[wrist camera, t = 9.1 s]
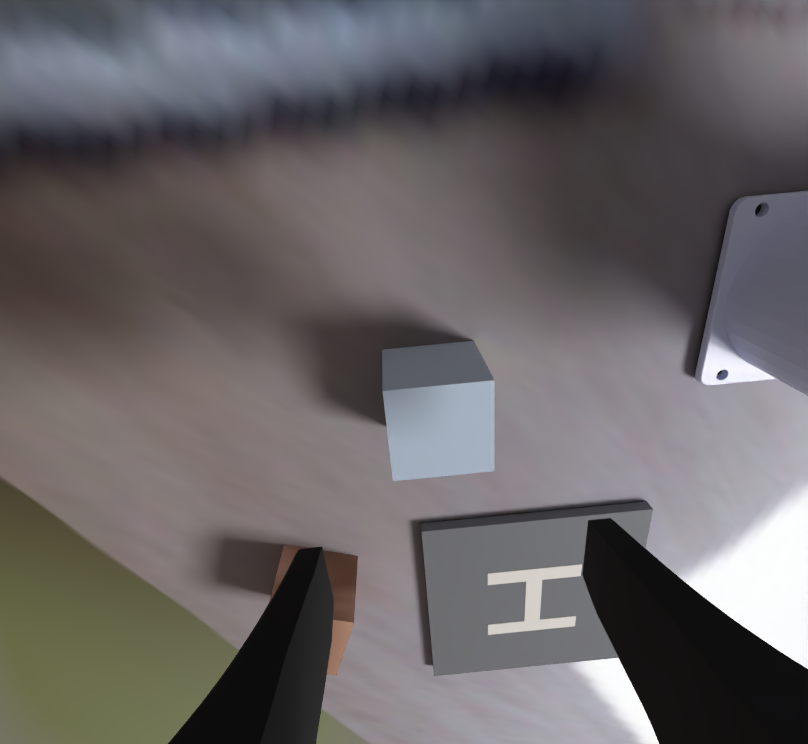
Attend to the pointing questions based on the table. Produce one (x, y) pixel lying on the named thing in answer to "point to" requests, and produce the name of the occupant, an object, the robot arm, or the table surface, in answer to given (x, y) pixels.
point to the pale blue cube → (438, 410)
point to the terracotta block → (343, 590)
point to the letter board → (517, 588)
